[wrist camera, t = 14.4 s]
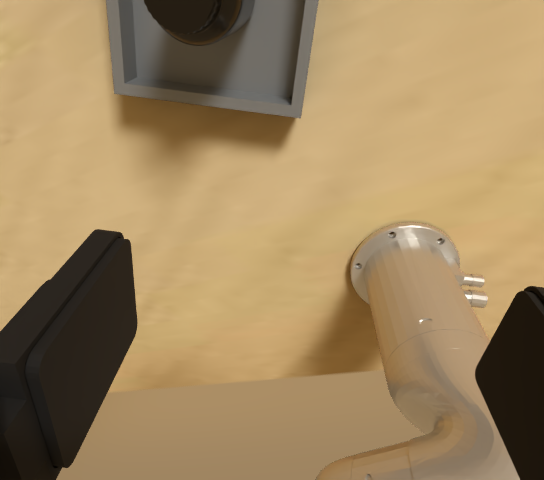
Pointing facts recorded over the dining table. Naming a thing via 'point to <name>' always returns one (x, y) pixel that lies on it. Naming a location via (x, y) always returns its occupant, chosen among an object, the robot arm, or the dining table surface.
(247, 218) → the dining table surface
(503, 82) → the dining table surface
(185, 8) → the supplement bottle
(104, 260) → the robot arm
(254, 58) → the tray
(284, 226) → the dining table surface
